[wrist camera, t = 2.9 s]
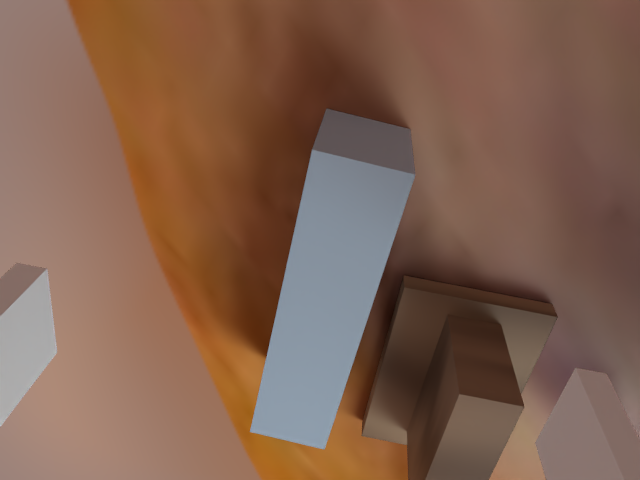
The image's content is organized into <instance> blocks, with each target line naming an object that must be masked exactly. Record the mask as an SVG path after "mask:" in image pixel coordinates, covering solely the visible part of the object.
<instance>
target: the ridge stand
mask: <svg viewBox="0 0 640 480" xmlns="http://www.w3.org/2000/svg"><path fill="white" fill-rule="evenodd" d="M557 318H558V316H557V314H556V312H555V309H554V307H553V305H552V304H549V303H544V302H539V301H534V300H529V299H524V298H518V297H513V296H508V295H503V294H498V293H493V292H488V291H482V290H477V289H472V288H467V287H462V286H457V285H451V284H446V283H441V282H436V281H431V280H426V279H420V278H415V277H410V276H405V275H404V277H403V280H402V284H401V287H400V291H399V295H398V298H397V302H396V305H395V309H394V312H393V316H392V319H391V323H390V326H389V330H388V333H387V337H386V340H385V344H384V347H383V351H382V355H381V358H380V362H379V365H378V369H377V372H376V376H375V379H374V383H373V386H372V390H371V393H370V397H369V400H368V404H367V407H366V411H365V414H364V418H363V422H362V436H365V437H370V438H375V439H380V440H385V441H390V442H395V443H400V444H405V445H407V454H408V480H489V478H490V476H491V474H492V472H493V470H494V468H495V466H496V464H497V462H498V460H499V458H500V456H501V454H502V451H503V449H504V447H505V445H506V443H507V441H508V439H509V437H510V435H511V433H512V431H513V429H514V427H515V425H516V423H517V421H518V419H519V417H520V415H521V413H522V411H523V409H524V404H523V400H522V397H521V393H522V391H523V389H524V387H525V385H526V383H527V381H528V378H529V376H530V374H531V372H532V370H533V368H534V366H535V364H536V362H537V360H538V358H539V356H540V353H541V351H542V349H543V347H544V345H545V343H546V341H547V339H548V337H549V335H550V333H551V330H552V328H553V326H554V324H555V322H556V320H557Z"/></svg>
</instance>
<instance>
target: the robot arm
mask: <svg viewBox="0 0 640 480" xmlns="http://www.w3.org/2000/svg"><path fill="white" fill-rule="evenodd" d="M56 353H57V347H56V338H55V330H54V322H53V313H52V304H51V296H50V287H49V280H48V271H47V268H42V267H36V266H31V265H25V264H20V263H16V264H15V265H14V266H13V267H12V268H10V270H8V271H7V272H6V273H5V274H4V275H3V276H2V277H1V278H0V426H1V425H2V424H3V422H4V421H5V420H6V419H7V417H8V416H9V414H10V413H11V412H12V411H13V409H14V408H15V407H16V406H17V404H18V403H19V402H20V400H21V399H22V398H23V396H24V395H25V394H26V393H27V391H28V390H29V389H30V387H31V385H32V384H33V383H34V382H35V381H36V379H37V378H38V377H39V376H40V374H41V373H42V372H43V370H44V369H45V368H46V366H47V365H48V364H49V362H50V361H51V360H52V358H53V357H54V356H55V354H56ZM535 443H536V447H537V450H538V453H539V457H540V460H541V464H542V467H543V470H544V474H545V477H546V480H640V439H639V437H638V435H637V433H636V431H635V430H634V428H633V426H632V424H631V422H630V420H629V418H628V416H627V414H626V412H625V410H624V408H623V406H622V404H621V402H620V400H619V398H618V396H617V394H616V392H615V390H614V388H613V386H612V384H611V382H610V380H609V378H608V376H607V374H606V373H601V372H596V371H590V370H585V369H580V368H575V369H574V371H573V373H572V375H571V377H570V379H569V381H568V382H567V384H566V386H565V388H564V390H563V392H562V394H561V396H560V397H559V399H558V401H557V403H556V405H555V407H554V409H553V411H552V412H551V414H550V416H549V418H548V420H547V422H546V424H545V426H544V427H543V429H542V431H541V433H540V435H539V437H538V439H537V440H536V442H535Z"/></svg>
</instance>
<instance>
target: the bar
mask: <svg viewBox="0 0 640 480" xmlns="http://www.w3.org/2000/svg"><path fill="white" fill-rule="evenodd" d="M414 177H415V167H414V158H413V149H412V140H411V130H410V129H408V128H404V127H400V126H396V125H392V124H388V123H384V122H380V121H376V120H371V119H367V118H363V117H359V116H355V115H351V114H347V113H343V112H339V111H335V110H331V109H327V108H326V111H325V114H324V117H323V120H322V123H321V125H320V128H319V131H318V134H317V137H316V140H315V143H314V146H313V148H312V152H311V157H310V161H309V166H308V170H307V175H306V180H305V184H304V189H303V193H302V198H301V202H300V207H299V211H298V216H297V221H296V225H295V230H294V234H293V239H292V243H291V248H290V252H289V257H288V262H287V266H286V271H285V275H284V280H283V284H282V289H281V293H280V298H279V303H278V307H277V312H276V316H275V321H274V325H273V330H272V334H271V339H270V343H269V348H268V353H267V357H266V362H265V366H264V371H263V375H262V380H261V384H260V389H259V394H258V398H257V403H256V407H255V412H254V416H253V421H252V425H251V430H250V432H253V433H257V434H262V435H266V436H270V437H274V438H278V439H283V440H287V441H291V442H295V443H299V444H304V445H308V446H312V447H316V448H320V449H325V446H326V443H327V440H328V437H329V434H330V431H331V428H332V425H333V422H334V419H335V416H336V413H337V410H338V407H339V404H340V401H341V398H342V395H343V392H344V389H345V386H346V383H347V380H348V377H349V374H350V371H351V368H352V365H353V362H354V359H355V356H356V353H357V350H358V347H359V344H360V341H361V338H362V334H363V331H364V328H365V325H366V322H367V319H368V316H369V313H370V310H371V307H372V304H373V301H374V298H375V295H376V292H377V289H378V286H379V283H380V280H381V277H382V274H383V271H384V268H385V265H386V262H387V259H388V256H389V253H390V250H391V247H392V244H393V241H394V238H395V235H396V232H397V229H398V226H399V223H400V220H401V217H402V214H403V211H404V208H405V205H406V202H407V199H408V195H409V192H410V189H411V186H412V183H413V180H414Z"/></svg>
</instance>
